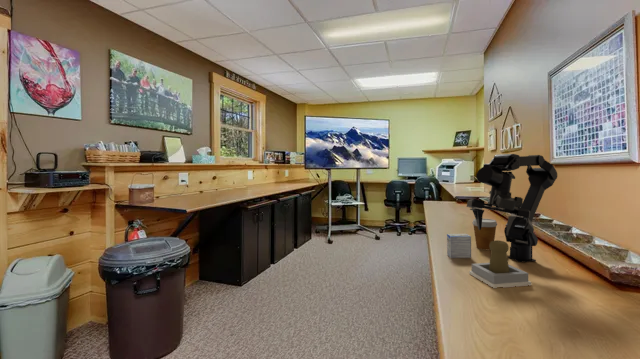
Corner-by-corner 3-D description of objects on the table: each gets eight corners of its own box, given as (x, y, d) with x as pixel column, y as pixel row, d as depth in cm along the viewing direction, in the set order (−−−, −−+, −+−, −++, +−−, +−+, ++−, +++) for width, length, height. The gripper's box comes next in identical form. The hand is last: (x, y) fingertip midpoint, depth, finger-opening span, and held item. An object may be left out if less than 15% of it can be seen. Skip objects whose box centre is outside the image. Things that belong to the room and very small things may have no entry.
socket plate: (502, 271, 102) (502, 261, 101) (531, 285, 90) (531, 273, 90) (469, 273, 100) (469, 263, 100) (493, 288, 89) (493, 276, 88)
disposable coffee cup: (502, 248, 128) (502, 220, 127) (489, 252, 123) (489, 223, 123) (480, 243, 136) (480, 217, 136) (467, 247, 131) (467, 220, 131)
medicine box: (467, 254, 121) (467, 233, 120) (471, 258, 116) (471, 236, 116) (446, 255, 122) (446, 233, 121) (450, 258, 117) (450, 236, 117)
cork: (512, 275, 95) (512, 240, 95) (507, 280, 91) (507, 244, 90) (491, 270, 99) (491, 237, 99) (485, 276, 95) (485, 241, 95)
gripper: (481, 181, 100) (473, 228, 99) (542, 192, 97) (535, 241, 95) (469, 184, 111) (462, 226, 110) (524, 194, 108) (517, 237, 106)
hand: (493, 232), depth 105 cm, fingers open, 9 cm apart
